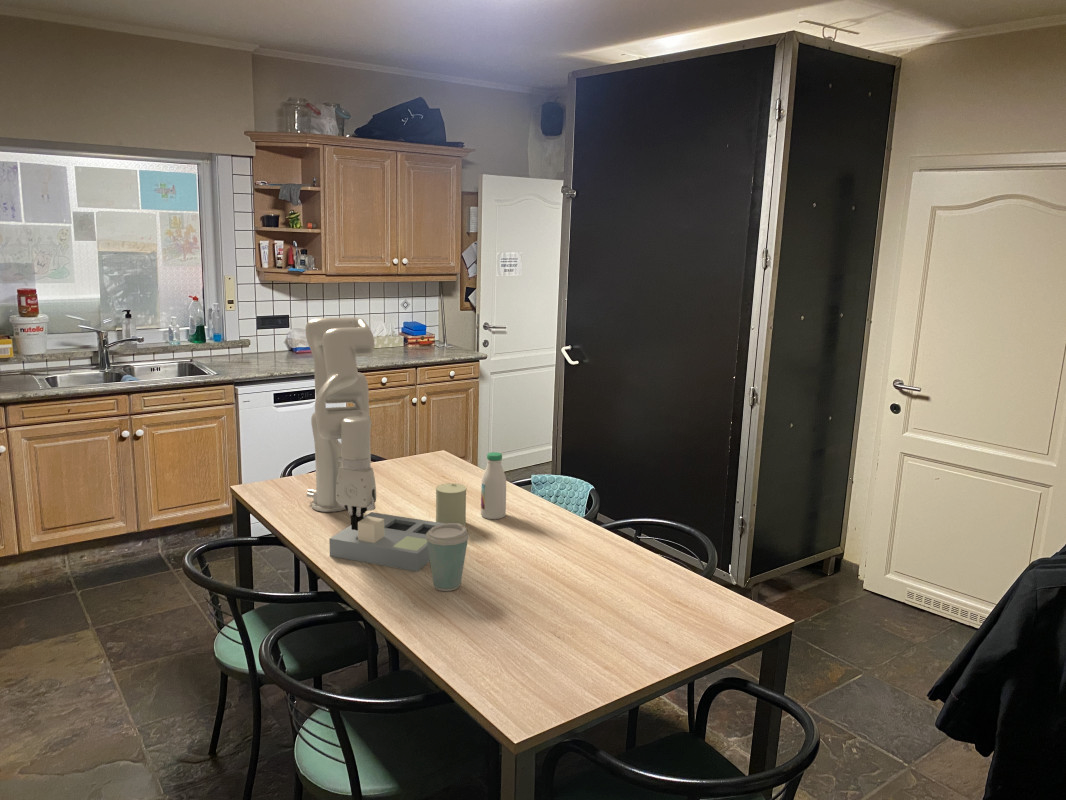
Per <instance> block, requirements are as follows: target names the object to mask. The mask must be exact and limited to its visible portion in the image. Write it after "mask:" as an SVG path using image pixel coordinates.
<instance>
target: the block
mask: <svg viewBox="0 0 1066 800" xmlns="http://www.w3.org/2000/svg"><path fill="white" fill-rule="evenodd" d="M383 537H384V519H381V518H376V517H370V516H368V517H366V518H364V519H362V520H361V521H359V522H358V540H361V541H366V542H372V543H375V542H377V541H378V540H380V539H381V538H383Z"/></svg>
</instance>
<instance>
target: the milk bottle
mask: <svg viewBox="0 0 1066 800" xmlns="http://www.w3.org/2000/svg"><path fill="white" fill-rule="evenodd" d="M486 461H487V464H486V467H485V470H484V471H483V474H482V477H481V486H480V487H481V488H480V489H481V491H480V493H481V495H480V515H481V517H482V518H484V519H487V520H500V519H503V518H504V517H506V512H507V511H506V510H507V477H506V473H505V471H504V469H503V465H502V461H503V454H502V453H501V452H497V451H496V452H494V451H493V452H488V453H487V454H486Z"/></svg>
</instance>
